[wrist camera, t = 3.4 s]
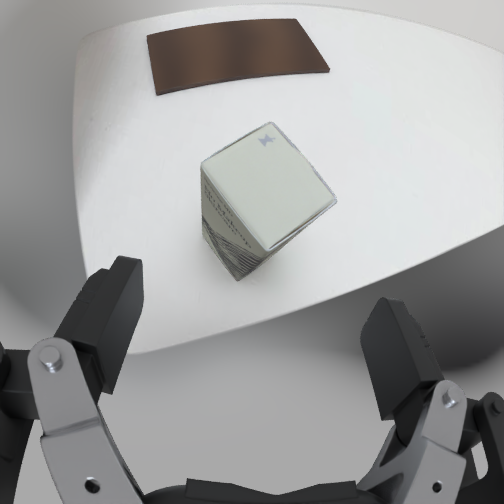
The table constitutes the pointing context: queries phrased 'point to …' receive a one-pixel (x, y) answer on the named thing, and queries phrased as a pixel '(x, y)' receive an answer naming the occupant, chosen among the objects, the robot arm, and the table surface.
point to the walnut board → (231, 53)
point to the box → (258, 198)
